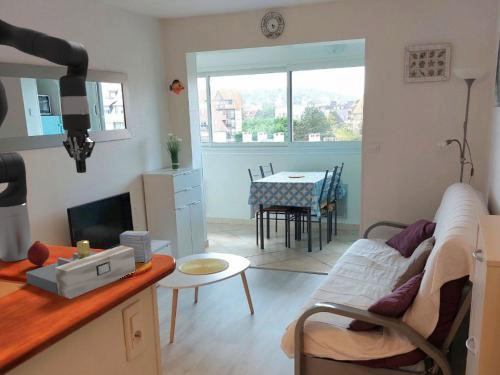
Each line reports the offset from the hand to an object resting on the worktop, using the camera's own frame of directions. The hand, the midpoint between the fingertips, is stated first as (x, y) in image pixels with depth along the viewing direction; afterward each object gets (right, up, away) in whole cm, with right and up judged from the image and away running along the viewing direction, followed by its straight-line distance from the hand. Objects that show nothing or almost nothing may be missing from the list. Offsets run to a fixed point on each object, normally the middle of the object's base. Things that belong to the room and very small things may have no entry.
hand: (81, 172), depth 124 cm
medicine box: (+16, -27, +3) cm, 31 cm away
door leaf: (+2, -29, -8) cm, 30 cm away
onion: (-13, -28, +1) cm, 31 cm away
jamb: (+10, -29, -14) cm, 34 cm away
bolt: (+8, -26, -13) cm, 30 cm away
